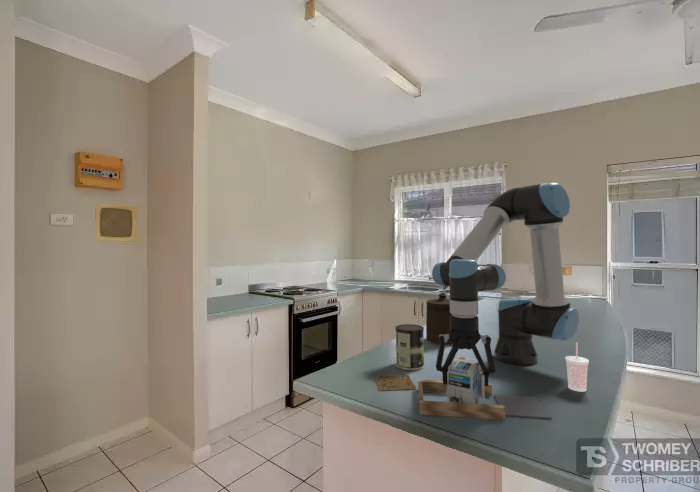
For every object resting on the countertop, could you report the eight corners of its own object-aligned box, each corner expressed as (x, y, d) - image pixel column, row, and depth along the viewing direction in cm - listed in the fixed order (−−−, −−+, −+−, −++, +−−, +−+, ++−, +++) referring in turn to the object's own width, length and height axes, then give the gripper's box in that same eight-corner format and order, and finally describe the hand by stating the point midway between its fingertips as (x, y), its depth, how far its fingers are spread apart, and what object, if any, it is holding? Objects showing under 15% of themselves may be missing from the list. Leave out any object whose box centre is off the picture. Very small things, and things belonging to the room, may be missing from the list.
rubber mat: (534, 398, 100) (534, 397, 100) (551, 419, 88) (551, 417, 88) (493, 396, 102) (493, 394, 102) (505, 416, 90) (505, 414, 90)
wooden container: (458, 337, 166) (458, 291, 166) (461, 346, 151) (460, 295, 151) (426, 336, 169) (426, 290, 169) (426, 344, 155) (425, 294, 155)
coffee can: (424, 361, 132) (423, 324, 132) (424, 371, 122) (423, 331, 122) (396, 360, 134) (396, 323, 134) (394, 369, 124) (394, 330, 124)
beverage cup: (561, 384, 109) (560, 339, 109) (581, 384, 109) (580, 339, 109) (573, 392, 103) (572, 345, 103) (594, 392, 103) (593, 345, 103)
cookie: (373, 377, 118) (373, 374, 118) (408, 376, 119) (408, 373, 119) (378, 392, 106) (377, 389, 106) (417, 391, 107) (417, 388, 107)
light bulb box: (473, 412, 91) (473, 371, 91) (447, 406, 95) (447, 366, 94) (481, 396, 100) (481, 359, 100) (457, 391, 104) (457, 355, 104)
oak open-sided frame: (490, 393, 104) (490, 383, 104) (505, 419, 88) (505, 407, 88) (418, 389, 107) (418, 379, 107) (419, 414, 91) (419, 402, 91)
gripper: (500, 312, 99) (502, 392, 99) (424, 311, 103) (425, 388, 103) (508, 318, 92) (509, 404, 92) (425, 317, 95) (427, 400, 95)
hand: (465, 396), depth 97 cm, fingers closed on light bulb box, 8 cm apart
